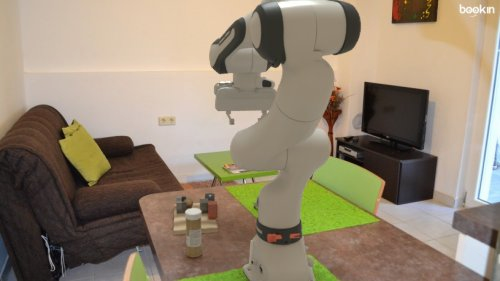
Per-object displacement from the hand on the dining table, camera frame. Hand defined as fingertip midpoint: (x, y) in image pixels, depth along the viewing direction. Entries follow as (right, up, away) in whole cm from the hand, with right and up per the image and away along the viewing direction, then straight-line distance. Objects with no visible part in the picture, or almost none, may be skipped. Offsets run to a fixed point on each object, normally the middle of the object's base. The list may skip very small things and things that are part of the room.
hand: (246, 124), depth 130 cm
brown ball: (-21, -30, +13) cm, 38 cm away
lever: (-14, -30, +12) cm, 35 cm away
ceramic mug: (+8, -31, +18) cm, 37 cm away
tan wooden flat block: (-18, -33, +8) cm, 38 cm away
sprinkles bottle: (-15, -38, -15) cm, 44 cm away
